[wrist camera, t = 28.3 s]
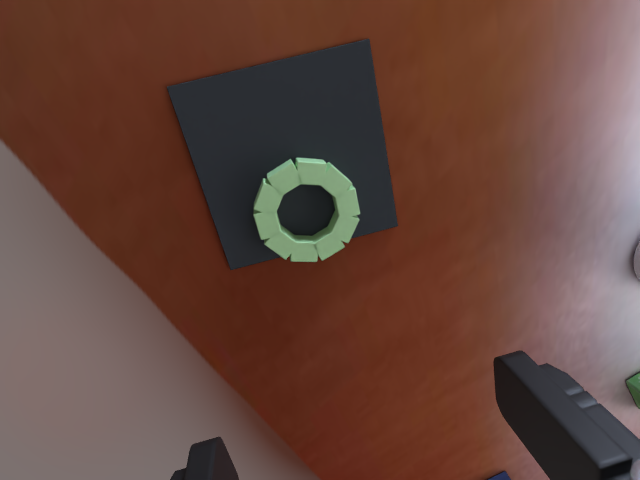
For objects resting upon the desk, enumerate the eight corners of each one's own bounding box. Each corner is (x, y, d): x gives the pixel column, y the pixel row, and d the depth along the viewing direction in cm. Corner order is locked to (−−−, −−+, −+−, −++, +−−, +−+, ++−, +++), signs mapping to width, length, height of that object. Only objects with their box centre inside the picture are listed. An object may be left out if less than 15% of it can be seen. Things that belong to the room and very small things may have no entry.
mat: (231, 268, 27) (230, 270, 27) (167, 86, 22) (166, 87, 22) (397, 225, 28) (397, 226, 27) (368, 39, 23) (369, 38, 23)
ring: (270, 265, 27) (271, 274, 26) (242, 171, 24) (241, 175, 23) (362, 241, 27) (367, 249, 26) (343, 145, 25) (348, 148, 23)
